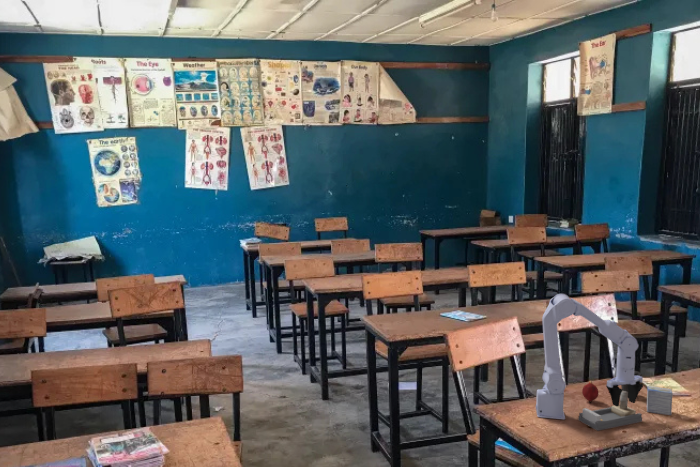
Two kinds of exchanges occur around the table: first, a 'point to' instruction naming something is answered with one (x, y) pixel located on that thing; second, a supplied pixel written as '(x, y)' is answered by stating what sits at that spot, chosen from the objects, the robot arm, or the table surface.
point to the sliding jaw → (623, 406)
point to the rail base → (607, 418)
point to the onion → (590, 391)
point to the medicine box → (659, 400)
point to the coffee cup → (625, 386)
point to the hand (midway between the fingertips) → (623, 403)
